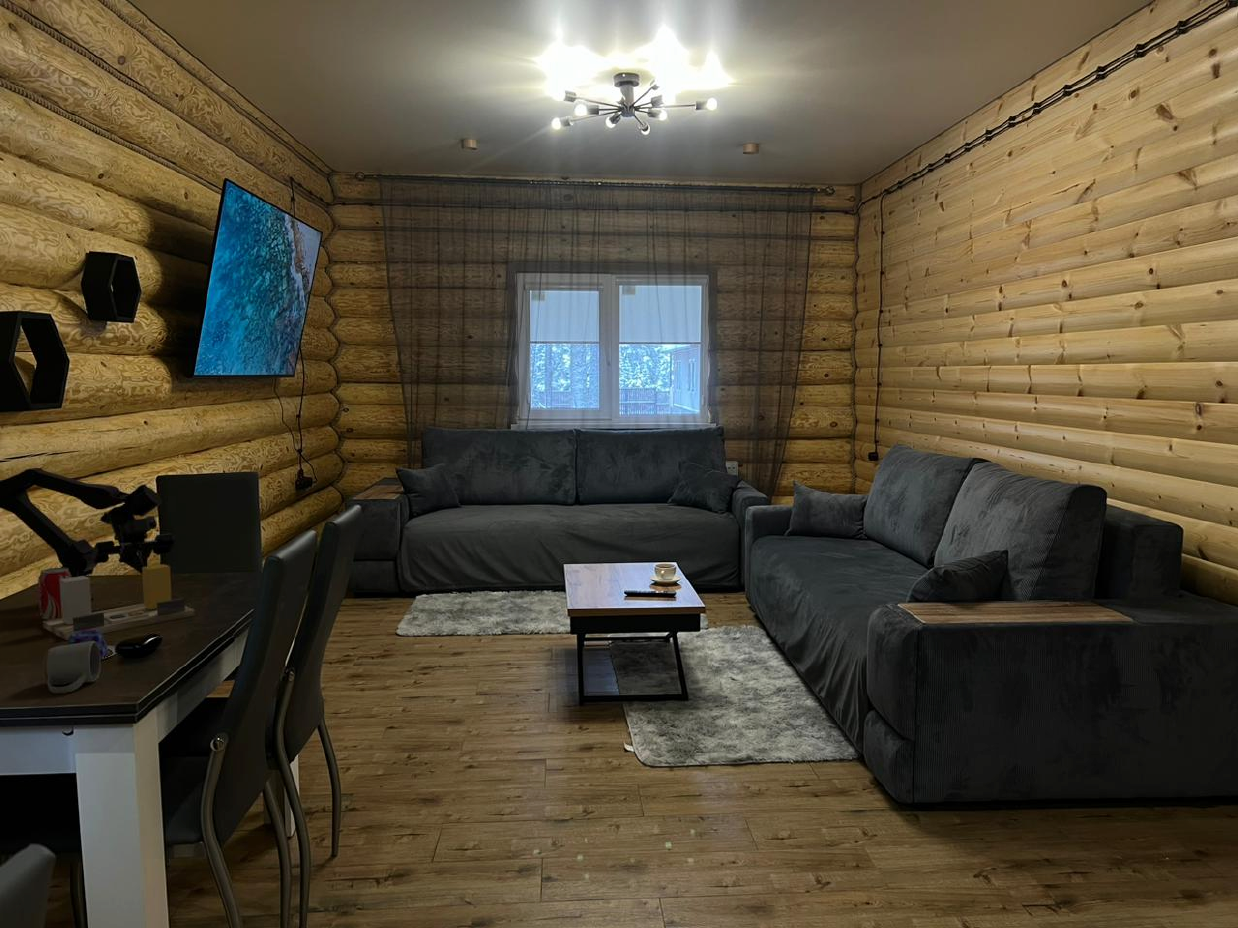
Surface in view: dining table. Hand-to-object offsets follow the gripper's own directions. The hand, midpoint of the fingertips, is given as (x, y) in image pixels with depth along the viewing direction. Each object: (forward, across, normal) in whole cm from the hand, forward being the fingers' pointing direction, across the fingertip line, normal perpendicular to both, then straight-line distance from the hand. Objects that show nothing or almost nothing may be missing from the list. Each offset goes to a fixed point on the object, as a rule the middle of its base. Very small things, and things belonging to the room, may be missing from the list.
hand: (145, 573), depth 222 cm
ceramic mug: (+42, -33, -29) cm, 61 cm away
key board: (+13, -10, 0) cm, 16 cm away
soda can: (+2, -18, +11) cm, 21 cm away
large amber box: (+11, 0, 0) cm, 11 cm away
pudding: (+30, -25, -16) cm, 42 cm away
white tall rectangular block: (+11, -18, 0) cm, 21 cm away
